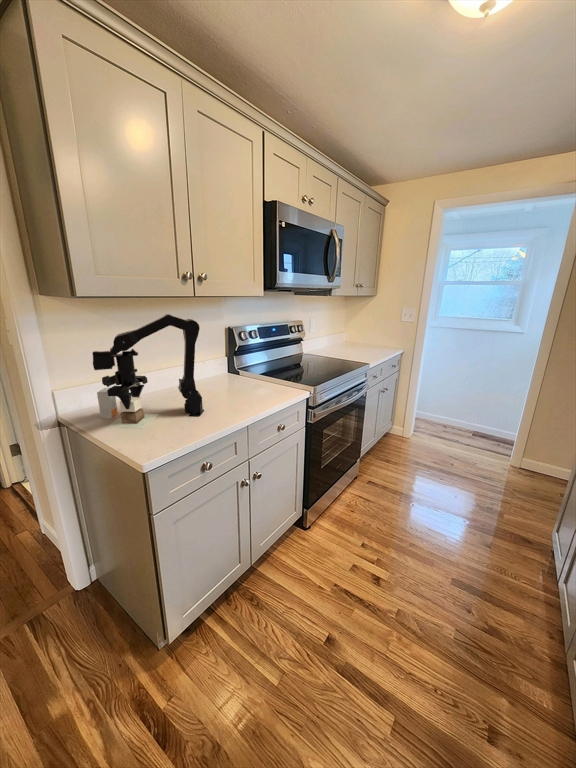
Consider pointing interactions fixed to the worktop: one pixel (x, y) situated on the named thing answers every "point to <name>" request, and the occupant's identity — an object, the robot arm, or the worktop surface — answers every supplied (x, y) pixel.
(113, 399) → the skincare box
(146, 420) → the baseplate
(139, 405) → the brick cream
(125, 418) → the brick walnut
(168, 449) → the worktop surface
